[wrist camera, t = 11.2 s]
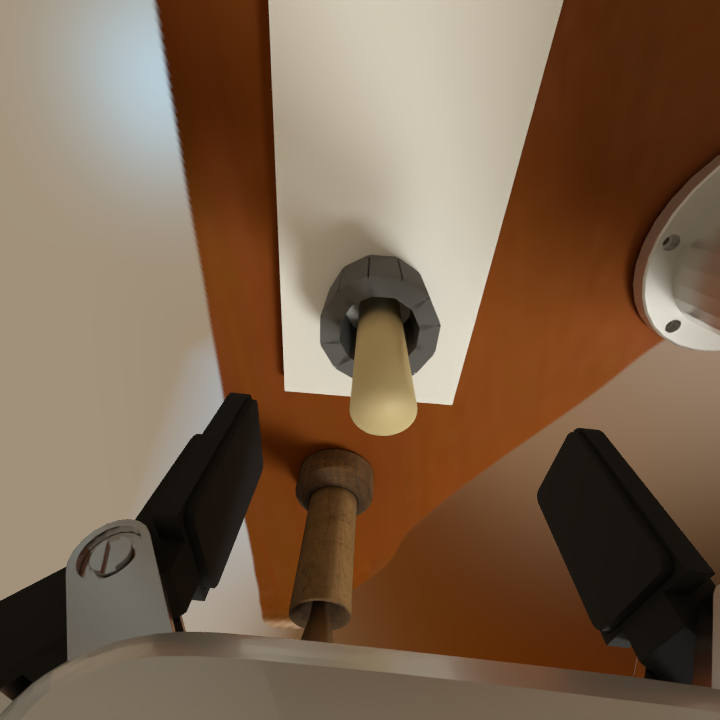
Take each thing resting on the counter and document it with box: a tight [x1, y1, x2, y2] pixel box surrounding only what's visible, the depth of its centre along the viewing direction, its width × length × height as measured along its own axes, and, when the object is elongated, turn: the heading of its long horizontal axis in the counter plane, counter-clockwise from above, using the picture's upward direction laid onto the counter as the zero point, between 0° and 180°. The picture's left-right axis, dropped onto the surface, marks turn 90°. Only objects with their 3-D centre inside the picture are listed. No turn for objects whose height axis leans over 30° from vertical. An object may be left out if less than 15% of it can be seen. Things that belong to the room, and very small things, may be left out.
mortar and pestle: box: [289, 449, 374, 643], centre depth 23 cm, size 7×6×18 cm
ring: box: [320, 255, 441, 378], centre depth 19 cm, size 6×6×4 cm
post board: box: [268, 0, 563, 436], centre depth 14 cm, size 12×24×12 cm, turn 175°
